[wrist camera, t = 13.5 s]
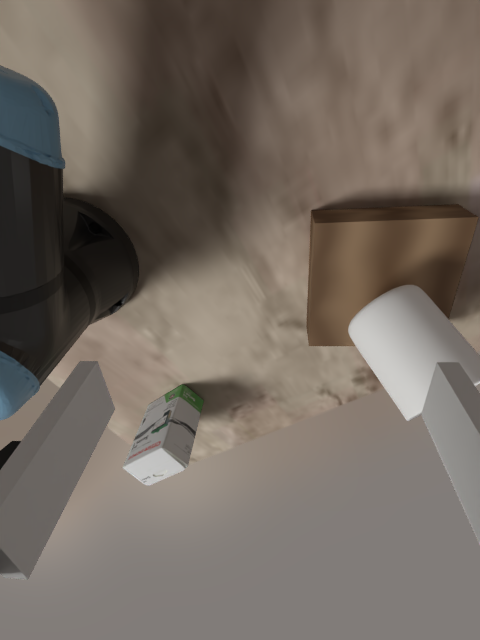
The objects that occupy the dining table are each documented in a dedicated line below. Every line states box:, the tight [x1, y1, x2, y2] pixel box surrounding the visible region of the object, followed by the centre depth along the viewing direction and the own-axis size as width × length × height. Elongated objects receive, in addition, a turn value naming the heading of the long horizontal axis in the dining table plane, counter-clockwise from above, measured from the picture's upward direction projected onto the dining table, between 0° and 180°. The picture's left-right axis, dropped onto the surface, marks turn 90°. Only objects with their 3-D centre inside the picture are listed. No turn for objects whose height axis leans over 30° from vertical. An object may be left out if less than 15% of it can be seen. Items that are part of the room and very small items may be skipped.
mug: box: [348, 285, 480, 421], centre depth 35 cm, size 12×8×10 cm
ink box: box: [123, 384, 204, 486], centre depth 52 cm, size 9×5×12 cm, turn 130°
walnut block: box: [307, 204, 479, 346], centre depth 40 cm, size 15×15×5 cm
